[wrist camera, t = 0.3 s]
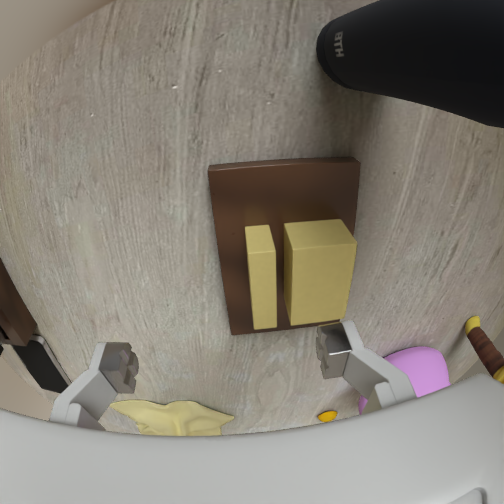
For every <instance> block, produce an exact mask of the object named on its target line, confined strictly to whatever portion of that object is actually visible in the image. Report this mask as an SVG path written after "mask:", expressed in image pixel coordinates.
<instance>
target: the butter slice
mask: <svg viewBox="0 0 504 504" xmlns="http://www.w3.org/2000/svg"><path fill="white" fill-rule="evenodd" d="M245 237H246V249H247V261H248V273H249V284H250V296H251V306H252V315H253V324H254V329H255V330H256V329H266V328H275V327H277V288H276V250H275V246H274V242H273V238H272V234H271V231H270V227H269V225H259V226H248V227H245Z"/></svg>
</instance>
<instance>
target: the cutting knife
mask: <svg viewBox="0 0 504 504" xmlns="http://www.w3.org/2000/svg"><path fill="white" fill-rule="evenodd" d="M6 336H7V334H6V333H5V331H4V330H3V328H2V327H1V325H0V355H1V353H2V351H3V349H4V348H3V347H2V344H3V342H4V340H5V338H6Z"/></svg>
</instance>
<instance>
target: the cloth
mask: <svg viewBox="0 0 504 504" xmlns="http://www.w3.org/2000/svg"><path fill="white" fill-rule="evenodd" d="M109 406H110V407H111V408H113V409H114V410H116V411H118V412H119V413H121V414H123V415H126V416H128V417H129V418H130V419H132V420H134V421H136V422H138V423H136V425H137V426H138V429H139V432H140V433H141V434H144V435H164V436H212V435H222V433H221V426H223V425H224V424H226V423H228V422H230V421H231V420H233V419H234V417H233V416H230V415H226V414H223V413H220V412H217V411H214V410H212V409H209V408H207V407H204V406H202V405H199V404H198V403H196V402H193V401H175V402H171V403H169V404H167V405H160V404H156V403H152V402H149V401H145V400H126V401H120V402H115V403H111V404H110V405H109Z"/></svg>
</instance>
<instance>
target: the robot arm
mask: <svg viewBox="0 0 504 504" xmlns="http://www.w3.org/2000/svg"><path fill="white" fill-rule="evenodd" d="M317 334H318V337H317V338H316V353H317V357H318V359H319V360H320V361H321V366H320V368H321V371H322V375H323V378H324V379H329V378H335V377H341V376H343V378H344V379H345V380H346V381H347V382H348V383H349V384H350V385H352V386H353V387H354V388H355V389H356V390H357V391H358V392H359V393H360V394H361V395H362V396H363V397H365V398H366V399H367V400H368V401H367V403H366V405H365V407H364V409H363V411H362V414H361V415H357V416H353V417H349V418H344V419H340V420H335V421H330V422H325V423H320V424H315V425H309V426H303V427H297V428H290V429H283V430H275V431H267V432H257V433H246V434H232V435H212V436H164V435H144V434H130V433H120V432H110V431H105V428H104V427H103V426H102V425H101V424H100V423H99V422H98V420H99V419H100V417H101V416H102V415H103V413H104V412H105V411H106V409H107V408H108V407H109V405H110V404H111V403H112V401H113V400H114V399H115V397H116V396H117V395H118V393H134V391H135V386H136V380H135V378H134V377H135V376H136V375H137V374H138V369H139V363H138V358H137V356H136V354H135V353H133V352H132V351H131V348H132V347H131V345H130V344H129V343H127V342H98V343H97V344H96V347H95V350H94V353H93V356H92V359H91V362H90V365H89V368H88V370H85V371H84V372H83V373H82V374H81V375H80V376H79V377H78V378H77V379H76V380H75V381H74V382H73V383H72V384H71V385H69V386H68V387H67V388H66V389H65V390H64V391H63V392H62V393H61V394H60V395H59V396H58V397H57V398H56V399H55V402H54V405H53V408H52V412H51V415H50V419H49V421H46V420H42V419H37V418H33V417H29V416H26V415H22V414H19V413H15V412H11V411H8V410H5V409H1V408H0V504H504V384H502V383H501V382H499V381H498V380H496V379H494V378H492V377H490V376H488V375H486V374H484V373H478V374H475V375H473V376H470V377H468V378H466V379H464V380H461V381H459V382H457V383H454V384H452V385H450V386H447V387H445V388H442V389H440V390H437V391H434V392H432V393H429V394H426V395H423V396H421V397H418V398H417V395H416V393H415V391H414V389H413V386H412V384H411V382H410V379H409V377H408V375H407V374H406V373H404V372H403V371H401V370H400V369H398V368H397V367H395V366H394V365H392V364H391V363H390V362H388V361H387V360H385V359H384V358H382V357H381V356H379V355H378V354H376V353H375V352H374V351H372V350H371V349H369V348H365V347H364V345H363V342H362V340H361V338H360V335H359V333H358V331H357V328H356V326H355V324H354V321H352V320H349V321H343V322H336V323H330V324H325V325H319V326H318V327H317Z"/></svg>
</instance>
